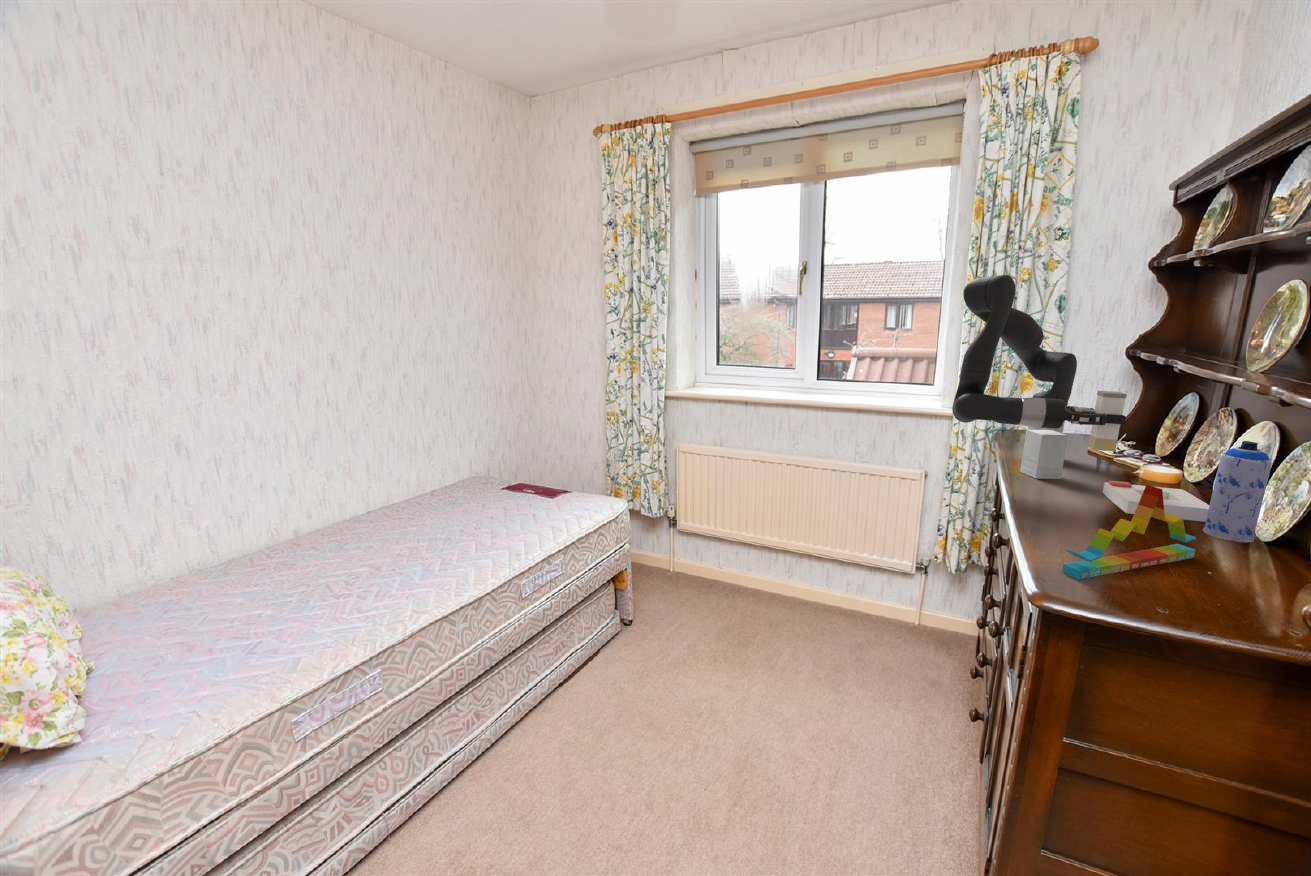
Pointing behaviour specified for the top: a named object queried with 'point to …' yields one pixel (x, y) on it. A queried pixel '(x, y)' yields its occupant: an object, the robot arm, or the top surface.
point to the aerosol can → (1238, 493)
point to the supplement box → (1044, 454)
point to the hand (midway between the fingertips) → (1120, 418)
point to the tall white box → (1108, 433)
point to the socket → (1173, 499)
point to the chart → (1146, 509)
